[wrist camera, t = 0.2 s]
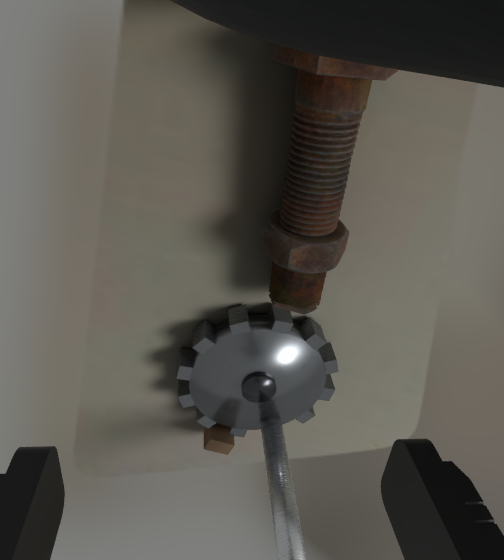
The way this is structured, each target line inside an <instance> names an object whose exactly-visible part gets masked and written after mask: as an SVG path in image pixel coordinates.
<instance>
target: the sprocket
mask: <svg viewBox="0 0 504 560" xmlns="http://www.w3.org/2000/svg"><path fill="white" fill-rule="evenodd" d="M228 314H229V320H227V321H225V322H223V323H221V324H219V325H217V326H216V327H214V326H213V325H211V324H210V323H209V322H207V321H206V320H205V321H203V322H202V323H201V324H200V325H199V326H197V327H196V328H195V329H194V330H193V349H194V350H192V349H186V348H181V350H180V354H179V357H178V362H177V377H176V379H179V387H178V398H179V400H180V402H181V404H182V407H183V408H186V407H190V406H194V405H195V406H196V407H197V419H196V422H198V423H199V424H201V425H203V426H204V427H206V428H208V429H209V428H210V427H211V426H213V425H214V424H216V423H219V424H221V425H224V426H227V427H228V429H229V435H230V436H238V437H244V436H245V434H246V431H247V430H257V429H261V432H262V440H263V447H264V455H265V462H266V470H267V478H268V486H269V493H270V501H271V509H272V516H273V523H274V531H275V539H276V547H277V555H278V560H306V555H305V549H304V544H303V539H302V533H301V527H300V522H299V516H298V510H297V505H296V499H295V494H294V488H293V483H292V477H291V472H290V466H289V460H288V455H287V449H286V444H285V438H284V433H283V427H282V424H284V423H287V422H289V421H291V420H294V419H297V420H298V421H300V422H301V423H302V424H303V423H305V422H306V421H308V420H309V419H311V418H312V417H314V416H315V414H314V410H313V405H314V403H315V402H316V401H317V400H318V399H319V400H326V401H329V400H330V398H331V396H332V395H333V393H334V391H335V387H334V384H333V381H332V378H331V375H330V374H331V373H335V372H339V371H338V366H337V360H336V357H335V354H334V351H333V349H332V346H331V343H330V342H329V343H326V340H325V337H324V334H323V331H322V329H321V326H320V325H319V324H318V323H317V322H315V321H314V320H313V319H312V318H311V317H309V318H308V319H306V320H305V321H304V322H302V323H301V324H299V323H297V322H295V321H293V320H292V317H291V313H290V311H289V310H285V309H282V308H278V307H276V306H274V305H273V304H272V305H271V308H270V310H269V313H268V314H250V315H249V314H248V311H247V307H246V304H245V305H241V306H237V307H233V308H229V309H228Z"/></svg>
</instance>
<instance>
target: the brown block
mask: <svg viewBox="0 0 504 560" xmlns="http://www.w3.org/2000/svg"><path fill="white" fill-rule="evenodd" d="M233 447H234V436H230V435H229V429H228V427H227V426H224V425H221V424H219V423H216V424H214V425H213V426H211V427H210V428H209V429H208V428H206V427H204V449H205V450H209V451H214V452H218V453H222V454H227V455H228V454H229V452H230V451H231V450H232V448H233Z"/></svg>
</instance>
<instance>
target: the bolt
mask: <svg viewBox="0 0 504 560" xmlns="http://www.w3.org/2000/svg"><path fill="white" fill-rule="evenodd" d="M273 60H274V61H276V62H279V63H282V64H285V65H288V66H291V67H294V68H297V69H298V74H297V82H296V90H295V97H294V100H295V103H296V104H295V108H296V111H294V115H295V116H296V117H294V119H293V122H294V124H293V126H292V129H293V131H292V133H291V136H292V138H291V139H290V142H291V145H290V146H289V150H290V152H289V153H288V157H289V158H288V160H287V163H288V165H287V167H286V169H287V171H286V177H285V184H284V189H283V193H284V194H283V200H282V206H281V210H279V211H277V212H275V213H273V214H272V215H271V216H270V218H269V219H268V220H267V222H266V223H265V225H264V227H263V228H262V237H261V245H260V246H261V247H262V249H263V250H264V252H265V253H266V255H267V256H268V257H269V258H270V259H271V260H272V261H273V262H274V263H273V268H272V274H271V282H270V287H269V292H270V293H271V294H269V297H270V298H271V301H272V303H273V305H274V306H276V307H278V308H282V309H285V310H289V311H293V312H297V313H301V314H306V313H310V312H312V311H314V310H315V309H317V307H316V305H319V303H320V300H321V293H322V290H323V284H324V280H325V277H326V272H327V271H329V270H331V269H333V268H335V267H336V266H337V264H338V263H339V261H340V259H341V257H342V255H343V253H344V251H345V248H346V244H347V240H348V236H349V231H348V230H347V228H346V227H345V226H344V224H343V223H342V222H341V221H340V220H339V216H340V211H341V205H342V200H343V197H344V193H345V188H346V182H347V180H348V174H349V170H348V169H349V167H350V162H351V156H352V154H353V149H354V147H355V142H356V140H357V138H356V136H357V135H358V128H359V127H360V123H359V122H360V121H361V118H362V113H363V111H364V110H365V108H366V104H367V100H368V96H369V91H370V87H371V83H372V80H386V79H387V78H389V77H390V76H392V75H393V74H394V73H396V72H397V71H398V69H392V68H386V67H380V66H374V65H368V64H363V63H357V62H351V61H346V60H340V59H334V58H329V57H324V56H319V55H315V54H310V53H306V52H303V51H299V50H295V49H292V48H288V47H284V46H281V45H277V44H275V49H274V58H273Z"/></svg>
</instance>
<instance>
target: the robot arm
mask: <svg viewBox="0 0 504 560" xmlns="http://www.w3.org/2000/svg"><path fill="white" fill-rule="evenodd" d="M171 1H173V2H175V3H177V4H179V5H180V6H182V7H184V8H186V9H188V10H190V11H192V12H194V13H195V14H197V15H199V16H201V17H203V18H205V19H208V20H210V21H213V22H215V23H217V24H220V25H222V26H225V27H227V28H230V29H232V30H235V31H237V32H240V33H242V34H245V35H247V36H250V37H253V38H256V39H259V40H263V41H266V42H270V43H274V44H277V45H281V46H284V47H288V48H292V49H295V50H299V51H303V52H306V53H310V54H315V55H319V56H324V57H329V58H334V59H340V60H346V61H351V62H357V63H363V64H368V65H374V66H380V67H386V68H392V69H398V70H404V71H410V72H416V73H422V74H428V75H434V76H440V77H446V78H452V79H458V80H464V81H470V82H476V83H481V84H487V85H493V86H499V87H504V0H171ZM381 494H382V500H383V503H384V506H385V509H386V512H387V514H388V517H389V520H390V522H391V524H392V527H393V530H394V532H395V535H396V538H397V540H398V543H399V546H400V548H401V551H402V554H403V556H404V559H405V560H504V536H503V534H502V532H501V531H500V529H499V527H498V526H497V524H494V519H493V517H492V516H491V514H490V512H489V510H488V509H487V507H486V506H484V505H483V500H482V499H481V497H480V495H479V493H478V492H477V490H476V488H475V487H474V485H473V483H472V482H471V480H470V479H469V478H468V477H467V476H466V475H465V474H464V473H463V472H462V471H461V470H460V469H459V468H458V467H457V466H456V465H455V464H454V463H453V462H452V461H442V460H441V458H440V456H439V454H438V452H437V451H436V449H435V447H434V445H433V444H432V443H431V441H429V440H428V439H398V440H396V441H395V442H394V444H393V447H392V450H391V453H390V456H389V459H388V461H387V465H386V467H385V470H384V473H383V476H382V479H381ZM64 496H65V492H64V484H63V479H62V474H61V468H60V463H59V458H58V452H57V449H56V447H54V446H52V447H51V446H49V447H20V448H18V449H17V451H16V452H15V454H14V456H13V458H12V460H11V462H10V465H9V467H8V470H7V472H6V474H0V560H50V558H51V554H52V550H53V547H54V543H55V540H56V536H57V532H58V529H59V525H60V522H61V518H62V513H63V507H64Z"/></svg>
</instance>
